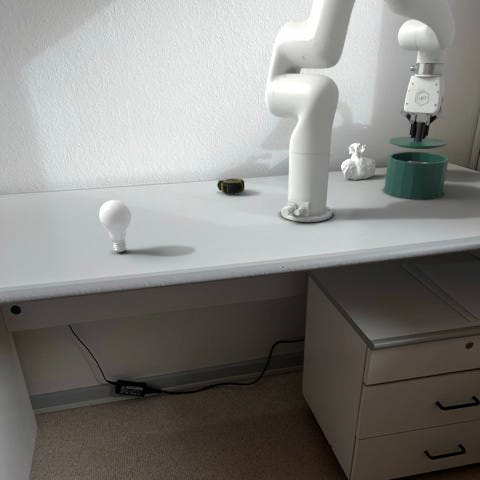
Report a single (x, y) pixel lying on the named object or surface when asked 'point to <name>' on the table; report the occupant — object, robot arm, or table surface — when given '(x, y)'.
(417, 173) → the pot
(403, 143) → the lid
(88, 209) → the table surface
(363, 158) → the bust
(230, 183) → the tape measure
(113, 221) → the lightbulb
